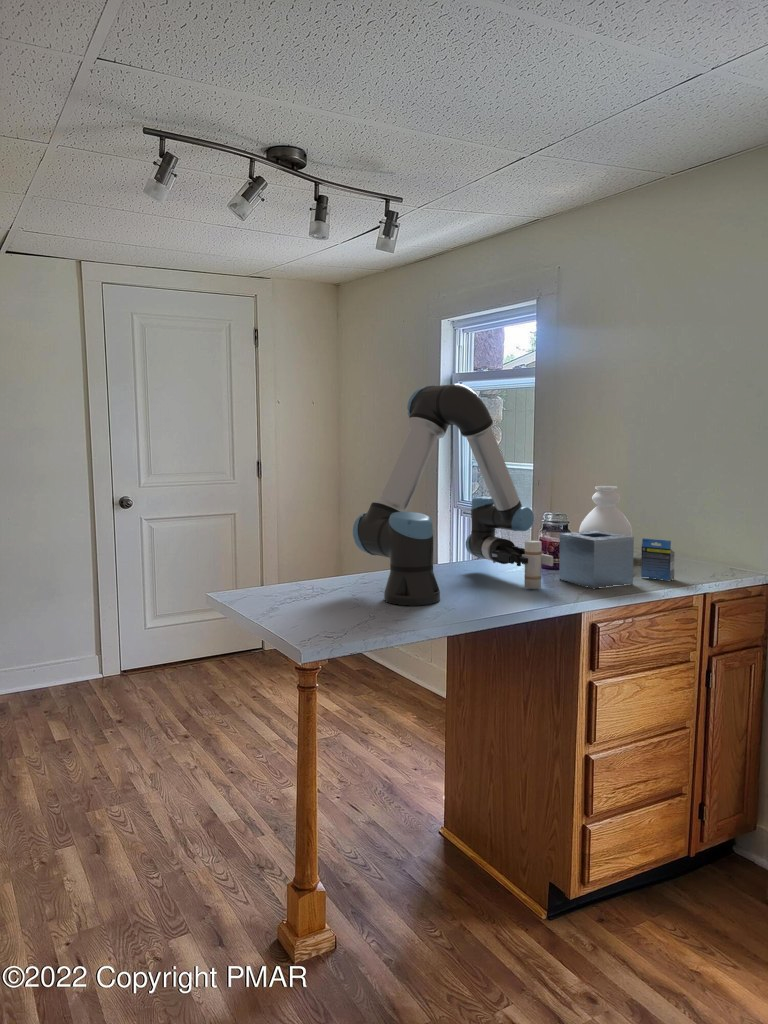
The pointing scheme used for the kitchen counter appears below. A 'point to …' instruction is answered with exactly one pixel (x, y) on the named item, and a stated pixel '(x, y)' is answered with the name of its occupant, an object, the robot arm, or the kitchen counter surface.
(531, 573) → the coin roll
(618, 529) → the decorative vase
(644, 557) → the label tape box
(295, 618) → the kitchen counter surface
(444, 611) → the kitchen counter surface
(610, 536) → the grey box with opening
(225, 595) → the kitchen counter surface
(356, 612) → the kitchen counter surface
